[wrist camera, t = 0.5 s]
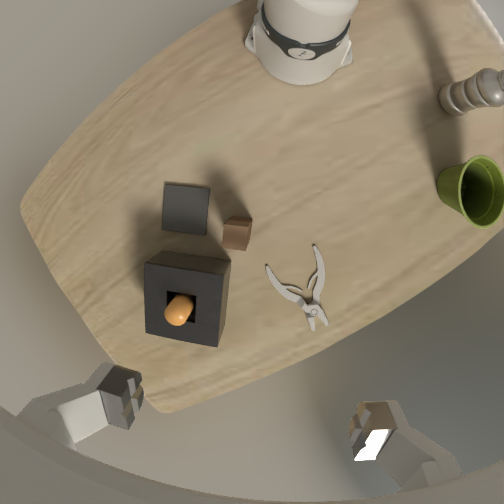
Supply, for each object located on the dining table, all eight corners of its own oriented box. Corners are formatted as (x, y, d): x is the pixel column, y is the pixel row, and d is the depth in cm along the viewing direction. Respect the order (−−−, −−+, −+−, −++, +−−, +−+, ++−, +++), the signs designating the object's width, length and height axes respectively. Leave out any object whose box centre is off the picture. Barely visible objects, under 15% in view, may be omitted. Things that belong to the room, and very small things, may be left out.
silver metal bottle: (464, 100, 40) (528, 81, 20) (454, 124, 41) (522, 112, 22) (441, 79, 39) (502, 50, 20) (430, 103, 41) (495, 79, 22)
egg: (176, 288, 48) (164, 302, 42) (196, 291, 48) (186, 307, 42) (175, 307, 49) (164, 323, 43) (195, 310, 49) (186, 327, 43)
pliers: (317, 246, 48) (345, 318, 52) (316, 244, 50) (343, 314, 53) (264, 268, 50) (296, 337, 53) (264, 266, 52) (295, 333, 55)
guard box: (161, 250, 52) (144, 263, 44) (231, 260, 52) (223, 275, 44) (160, 313, 55) (145, 332, 48) (224, 324, 55) (217, 347, 47)
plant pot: (430, 148, 43) (464, 144, 32) (475, 167, 43) (510, 169, 32) (420, 209, 46) (452, 219, 36) (464, 224, 46) (498, 236, 35)
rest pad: (166, 184, 49) (165, 184, 48) (210, 188, 49) (209, 188, 48) (162, 229, 51) (161, 229, 50) (205, 234, 51) (204, 235, 50)
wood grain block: (231, 216, 50) (224, 224, 42) (252, 219, 49) (248, 227, 42) (229, 236, 50) (221, 247, 43) (249, 239, 50) (245, 251, 43)
